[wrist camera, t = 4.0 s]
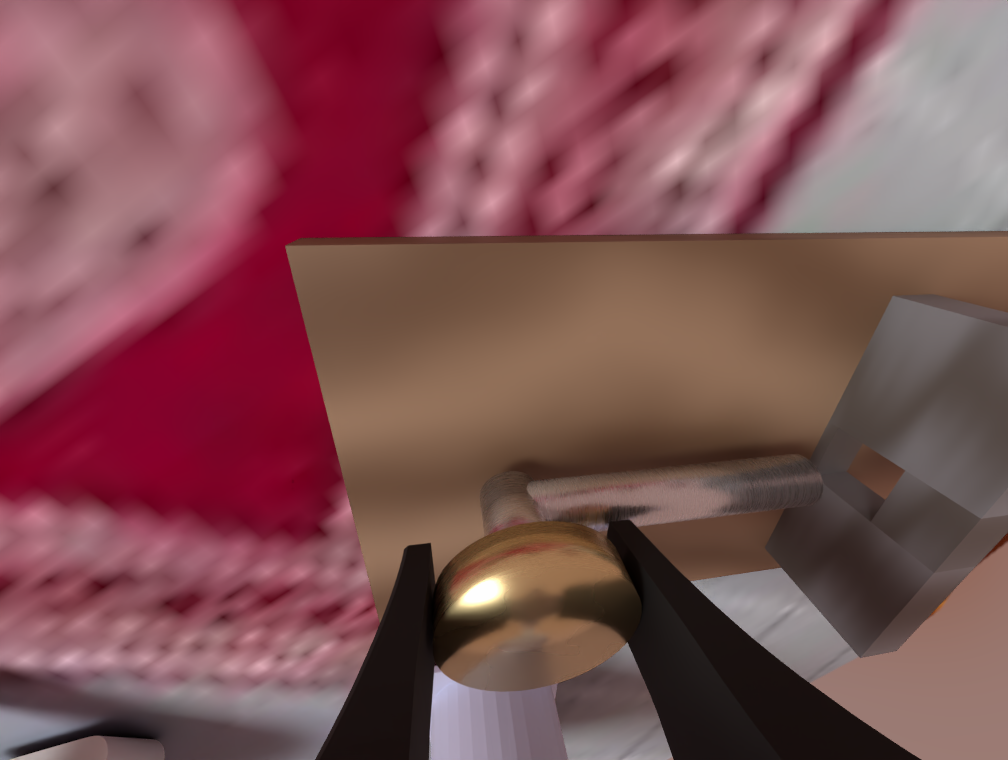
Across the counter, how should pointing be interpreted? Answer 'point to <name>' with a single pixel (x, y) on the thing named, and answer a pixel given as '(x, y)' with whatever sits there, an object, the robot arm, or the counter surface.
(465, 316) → the wooden board
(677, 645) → the robot arm
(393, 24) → the counter surface
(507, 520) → the brass knob with shaft
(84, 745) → the wall hook
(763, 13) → the counter surface
